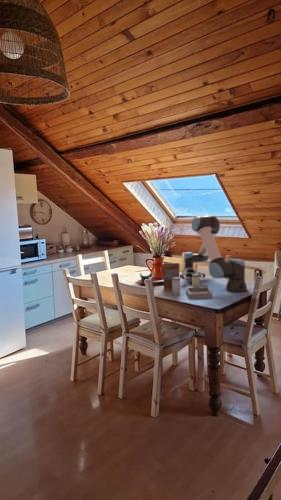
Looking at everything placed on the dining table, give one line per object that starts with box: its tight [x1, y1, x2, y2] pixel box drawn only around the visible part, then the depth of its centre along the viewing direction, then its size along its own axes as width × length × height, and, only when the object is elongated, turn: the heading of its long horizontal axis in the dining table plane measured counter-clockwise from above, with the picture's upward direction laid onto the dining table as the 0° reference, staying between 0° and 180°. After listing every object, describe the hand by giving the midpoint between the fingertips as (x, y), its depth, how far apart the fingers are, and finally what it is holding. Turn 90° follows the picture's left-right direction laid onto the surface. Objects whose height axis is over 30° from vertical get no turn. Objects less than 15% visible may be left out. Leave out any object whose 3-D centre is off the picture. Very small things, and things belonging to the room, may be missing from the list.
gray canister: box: [171, 277, 181, 296], centre depth 253 cm, size 6×6×12 cm
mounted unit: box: [162, 262, 180, 292], centre depth 267 cm, size 8×12×20 cm, turn 90°
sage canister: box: [191, 274, 201, 287], centre depth 263 cm, size 6×6×12 cm
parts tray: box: [185, 286, 213, 299], centre depth 251 cm, size 16×16×4 cm
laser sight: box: [139, 271, 155, 289], centre depth 281 cm, size 10×22×10 cm, turn 14°
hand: (194, 278), depth 272 cm, fingers open, 13 cm apart
